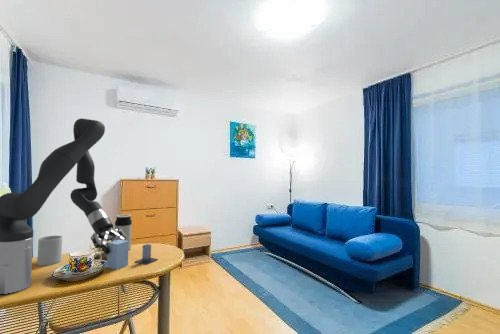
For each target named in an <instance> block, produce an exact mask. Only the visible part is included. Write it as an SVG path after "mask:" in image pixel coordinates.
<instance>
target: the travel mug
mask: <svg viewBox="0 0 500 334" xmlns="http://www.w3.org/2000/svg"><path fill="white" fill-rule="evenodd" d="M131 217H132V214H129V213H128V214H127V213H126V214H125V213H124V214H116V215H115V218H116V220H115V221H114V229H115V230H116V229H119V228H121V229H122V230H123V231H124V233H125V234H126V236H127V237H126V238H125V241H129V247H128V251H129V250H130V249H131V248H132V227H133V226H132V221H133V220H132V219H131ZM116 237H117V236H116ZM116 237H115V238H116ZM123 237H124V236H123ZM118 239H120V238H118Z"/></svg>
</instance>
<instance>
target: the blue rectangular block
mask: <svg viewBox="0 0 500 334" xmlns="http://www.w3.org/2000/svg"><path fill="white" fill-rule="evenodd" d="M107 246H108V248H109V250H110V253H109V254H107V255H106V268H107V269H112V270H120V269H122V268H124V267H127V266H129V250H128V247H129V241H125V240H116V241H114V240H111V241H108V242H107Z"/></svg>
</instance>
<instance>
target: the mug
mask: <svg viewBox="0 0 500 334" xmlns="http://www.w3.org/2000/svg"><path fill="white" fill-rule="evenodd" d="M62 250H63V236H61V235H50V236H49V235H48V236H43V237H40V238H38V241H37V258H36V261H37V262H36V263H37V266H40V267H43V266H45V267H47V266H51V265H56V264H59V263H60V262H62V258H63V257H62V252H63V251H62Z"/></svg>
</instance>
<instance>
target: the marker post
mask: <svg viewBox="0 0 500 334" xmlns="http://www.w3.org/2000/svg"><path fill="white" fill-rule="evenodd" d="M141 257H142V258H140V259H138V260H135V261H134V263H137V264H141V265H145V266H146V265H150V264H152V263H154V262H157V261H158V260H159V259H158V258H155V257H154V258H153V257H152V244H148V243H147V244H143V245H142V253H141Z"/></svg>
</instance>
